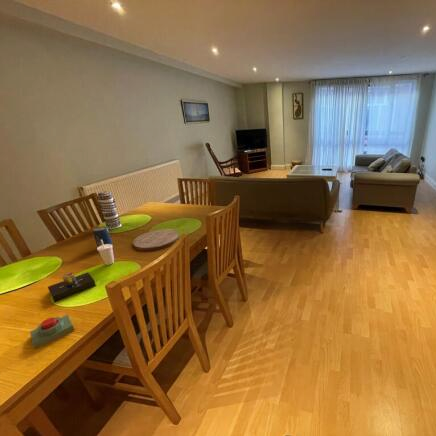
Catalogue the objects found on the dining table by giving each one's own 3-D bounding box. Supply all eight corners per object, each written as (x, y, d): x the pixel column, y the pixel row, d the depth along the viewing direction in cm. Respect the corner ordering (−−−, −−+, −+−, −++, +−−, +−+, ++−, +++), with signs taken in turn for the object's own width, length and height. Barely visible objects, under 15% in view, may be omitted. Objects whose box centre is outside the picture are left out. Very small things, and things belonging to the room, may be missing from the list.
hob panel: (54, 302, 98) (51, 296, 96) (50, 292, 104) (47, 286, 102) (96, 285, 108) (94, 280, 106) (90, 277, 114) (88, 271, 112)
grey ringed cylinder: (123, 226, 168) (113, 192, 158) (107, 230, 161) (96, 195, 152) (120, 222, 173) (110, 189, 164) (104, 226, 167) (93, 192, 158)
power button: (43, 331, 80) (41, 327, 79) (42, 325, 82) (40, 322, 82) (58, 324, 83) (56, 320, 82) (56, 319, 85) (54, 315, 84)
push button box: (35, 349, 78) (30, 340, 76) (32, 336, 83) (27, 327, 81) (75, 330, 85) (71, 321, 84) (69, 319, 90) (66, 310, 88)
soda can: (113, 243, 145) (107, 225, 140) (112, 247, 140) (106, 229, 135) (98, 246, 141) (92, 227, 137) (98, 251, 136) (91, 232, 132)
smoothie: (99, 267, 121) (91, 242, 116) (106, 260, 127) (98, 236, 122) (114, 265, 123) (106, 241, 117) (119, 259, 128) (112, 235, 123)
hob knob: (66, 287, 102) (62, 277, 100) (65, 283, 104) (61, 274, 102) (77, 283, 105) (73, 274, 103) (75, 279, 107) (72, 270, 105)
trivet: (187, 233, 158) (187, 230, 157) (162, 252, 135) (161, 249, 134) (153, 230, 162) (153, 227, 161) (123, 248, 139) (122, 245, 138)
